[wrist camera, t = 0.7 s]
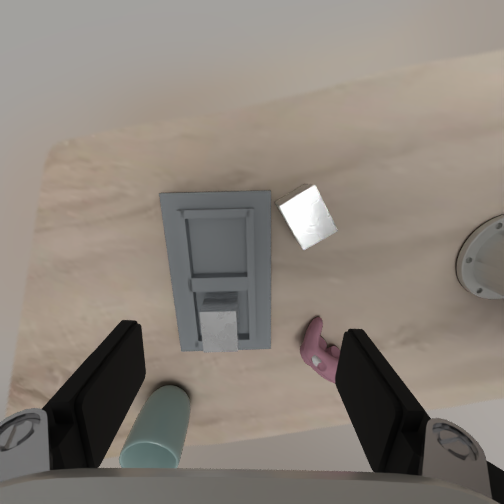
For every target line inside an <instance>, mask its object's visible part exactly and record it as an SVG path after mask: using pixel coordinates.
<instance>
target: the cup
mask: <svg viewBox="0 0 504 504" xmlns="http://www.w3.org/2000/svg"><path fill="white" fill-rule="evenodd" d="M189 418H190V400H189V397H188V395H187V394H186V393H185V391H184V390H182V389H181V388H179V387H177V386H173V385H166V386H163V387H160V388H158V389H157V390H156V391H154V392H153V393H152V394H151V396H150V397H149V398H148V399H147V401H146V402H145V404H144V405H143V407H142V409H141V411H140V413H139V414H138V416H137V418H136V420H135V422H134V424H133V426H132V428H131V430H130V433H129V435H128V437H127V439H126V441H125V443H124V446H123V448H122V450H121V453H120V457H119V462H120V465H121V467H122V468H177V467H178V464H179V461H180V458H181V454H182V450H183V446H184V442H185V438H186V434H187V429H188V424H189Z"/></svg>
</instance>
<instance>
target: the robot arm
mask: <svg viewBox="0 0 504 504" xmlns="http://www.w3.org/2000/svg"><path fill="white" fill-rule="evenodd" d="M457 276H458V279H459V281H460V283H461V284H462V286H463V287H464V288H465V289H466V290H467V291H468V292H470V293H472V294H474V295H476V296H478V297H481V298H485V299H502V298H504V215H501V216H498V217H496V218H493V219H491V220H490V221H488V222H486V223H484V224H483V225H482V226H480V227H479V228H478V229H477V230H475V232H474V233H473V234H472V235H471V236H470V237H469V238H468V239H467V241H466V242H465V244H464V245H463V247H462V249H461V251H460V253H459V257H458V260H457ZM145 375H146V369H145V359H144V349H143V339H142V329H141V325H140V324H138V323H137V321H133V320H122V321H121V322H120V323H119V324H118V325H117V326H116V327H115V328H114V330H113V331H112V332H111V333H110V334H109V335H108V336H107V337H106V339H105V340H104V341H103V342H102V343H101V344H100V345H99V346H98V348H97V349H96V350H95V351H94V352H93V353H92V354H91V355H90V356H89V357H88V358H87V359H86V360H85V361H84V362H83V363H82V365H81V366H80V367H79V368H78V369H77V370H76V371H75V372H74V374H73V375H72V376H71V377H70V378H69V379H68V380H67V381H66V383H65V384H64V385H63V386H62V387H61V388H60V389H59V390H58V391H57V393H56V394H55V395H54V396H53V397H52V398H51V399H50V400H49V402H48V403H47V404H46V405H45V406H44V407H43V408H42V409H38V408H32V409H26V410H23V411H20V412H17V413H15V414H13V415H11V416H9V417H7V418H6V419H4V420H3V421H1V422H0V504H504V471H503V470H501V469H500V468H498V467H496V466H495V465H493V464H491V463H490V462H488V461H486V457H485V454H484V451H483V449H482V448H481V446H480V445H479V443H478V442H477V441H476V440H475V439H474V438H473V437H472V436H471V435H470V434H469V433H467V432H466V431H465V430H464V429H462V428H461V427H459V426H458V425H456V424H454V423H452V422H449V421H447V420H444V419H440V418H432V419H431V418H430V417H429V416H428V414H427V413H426V412H425V410H424V409H423V407H422V406H421V405H420V403H419V402H418V401H417V399H416V398H415V397H414V395H413V394H412V393H411V392H410V390H409V389H408V388H407V386H406V385H405V384H404V382H403V381H402V380H401V378H400V377H399V376H398V375H397V373H396V372H395V371H394V369H393V368H392V367H391V365H390V364H389V363H388V361H387V360H386V359H385V358H384V356H383V355H382V354H381V352H380V351H379V350H378V348H377V347H376V346H375V345H374V343H373V342H372V341H371V339H370V338H369V337H368V335H367V334H366V333H365V331H364V330H362V329H349V330H348V332H345V333H344V336H343V341H342V346H341V351H340V356H339V361H338V365H337V370H336V375H335V384H336V387H337V389H338V392H339V394H340V396H341V399H342V401H343V403H344V406H345V408H346V410H347V413H348V415H349V417H350V420H351V422H352V424H353V427H354V428H355V431H356V433H357V436H358V438H359V441H360V443H361V445H362V448H363V450H364V452H365V455H366V457H367V459H368V462H369V464H370V466H371V468H372V470H373V472H351V471H348V472H347V471H306V470H302V471H301V470H255V469H191V468H190V469H187V468H186V469H183V468H98V467H99V466H100V464H101V463H102V461H103V459H104V457H105V455H106V453H107V451H108V449H109V447H110V445H111V443H112V441H113V439H114V437H115V435H116V434H117V432H118V430H119V428H120V426H121V424H122V422H123V420H124V418H125V416H126V414H127V412H128V410H129V408H130V406H131V404H132V402H133V400H134V399H135V397H136V395H137V393H138V391H139V389H140V387H141V385H142V383H143V381H144V379H145Z"/></svg>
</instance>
